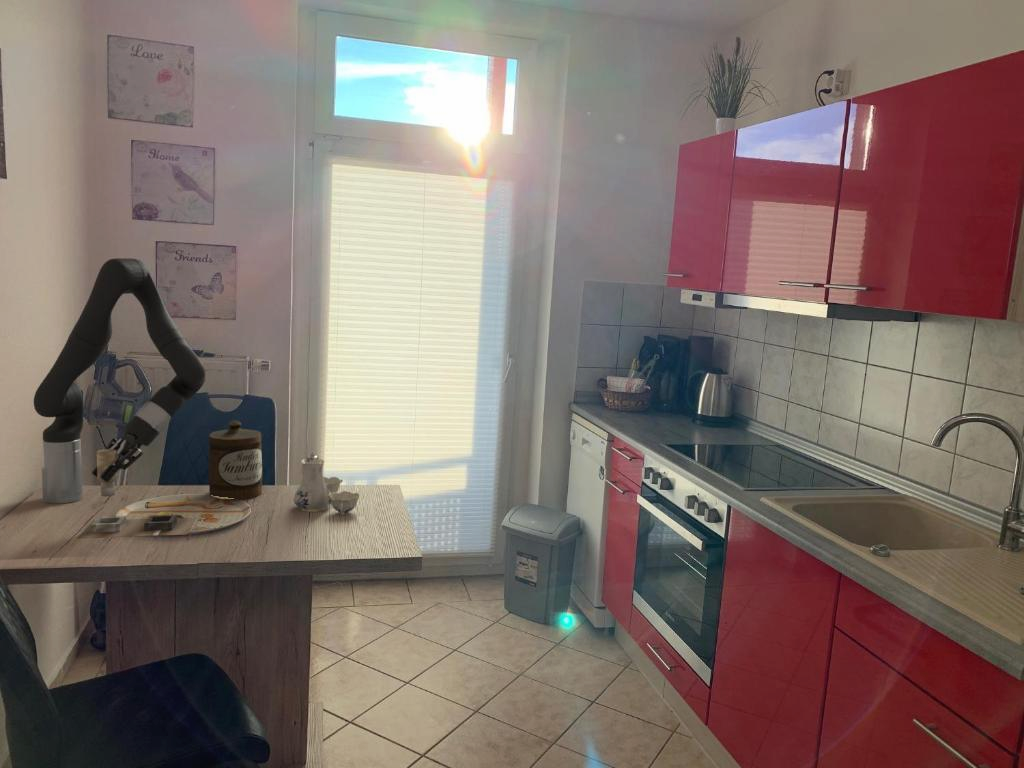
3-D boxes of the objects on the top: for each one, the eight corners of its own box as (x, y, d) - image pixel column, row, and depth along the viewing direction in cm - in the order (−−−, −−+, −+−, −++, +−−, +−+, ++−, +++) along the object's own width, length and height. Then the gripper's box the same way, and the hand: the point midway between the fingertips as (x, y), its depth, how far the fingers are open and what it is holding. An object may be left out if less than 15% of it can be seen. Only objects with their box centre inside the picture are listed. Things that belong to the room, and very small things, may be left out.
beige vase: (95, 497, 198) (94, 453, 197) (100, 492, 203) (99, 449, 201) (115, 497, 199) (114, 453, 198) (119, 492, 204) (118, 449, 202)
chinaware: (368, 521, 225) (375, 462, 223) (310, 524, 215) (316, 462, 214) (331, 496, 248) (337, 443, 246) (277, 497, 238) (282, 442, 237)
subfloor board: (76, 544, 194) (76, 530, 194) (93, 526, 208) (93, 512, 207) (187, 540, 200) (187, 526, 199) (197, 522, 213) (197, 509, 213)
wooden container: (225, 503, 231) (224, 427, 228) (200, 492, 241) (198, 419, 238) (271, 494, 242) (271, 421, 239) (246, 484, 252) (245, 414, 249)
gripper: (124, 410, 209) (75, 463, 201) (149, 418, 199) (99, 474, 192) (145, 428, 213) (98, 480, 206) (171, 437, 204) (123, 492, 197)
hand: (99, 477), depth 199 cm, fingers closed on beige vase, 4 cm apart
